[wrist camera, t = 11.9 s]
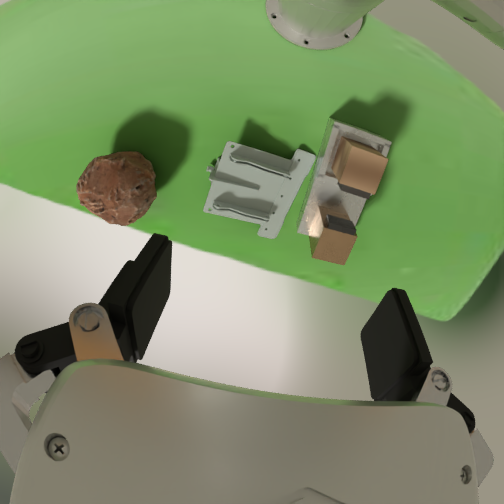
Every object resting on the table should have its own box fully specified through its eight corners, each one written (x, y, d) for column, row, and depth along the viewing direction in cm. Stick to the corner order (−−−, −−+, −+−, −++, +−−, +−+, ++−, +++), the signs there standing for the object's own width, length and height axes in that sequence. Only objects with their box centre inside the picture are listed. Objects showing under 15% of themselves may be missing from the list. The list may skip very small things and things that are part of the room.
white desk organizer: (329, 117, 34) (342, 126, 26) (381, 135, 34) (406, 151, 27) (296, 222, 43) (299, 255, 36) (343, 235, 44) (354, 269, 36)
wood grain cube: (341, 135, 32) (352, 145, 27) (373, 147, 32) (388, 159, 27) (329, 173, 35) (337, 189, 30) (360, 182, 35) (372, 200, 31)
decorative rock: (174, 153, 39) (146, 175, 31) (163, 217, 45) (138, 250, 37) (102, 137, 38) (64, 156, 29) (98, 197, 44) (66, 225, 36)
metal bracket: (193, 228, 39) (227, 128, 31) (193, 207, 44) (223, 118, 35) (283, 246, 44) (327, 162, 36) (274, 226, 49) (312, 148, 40)
